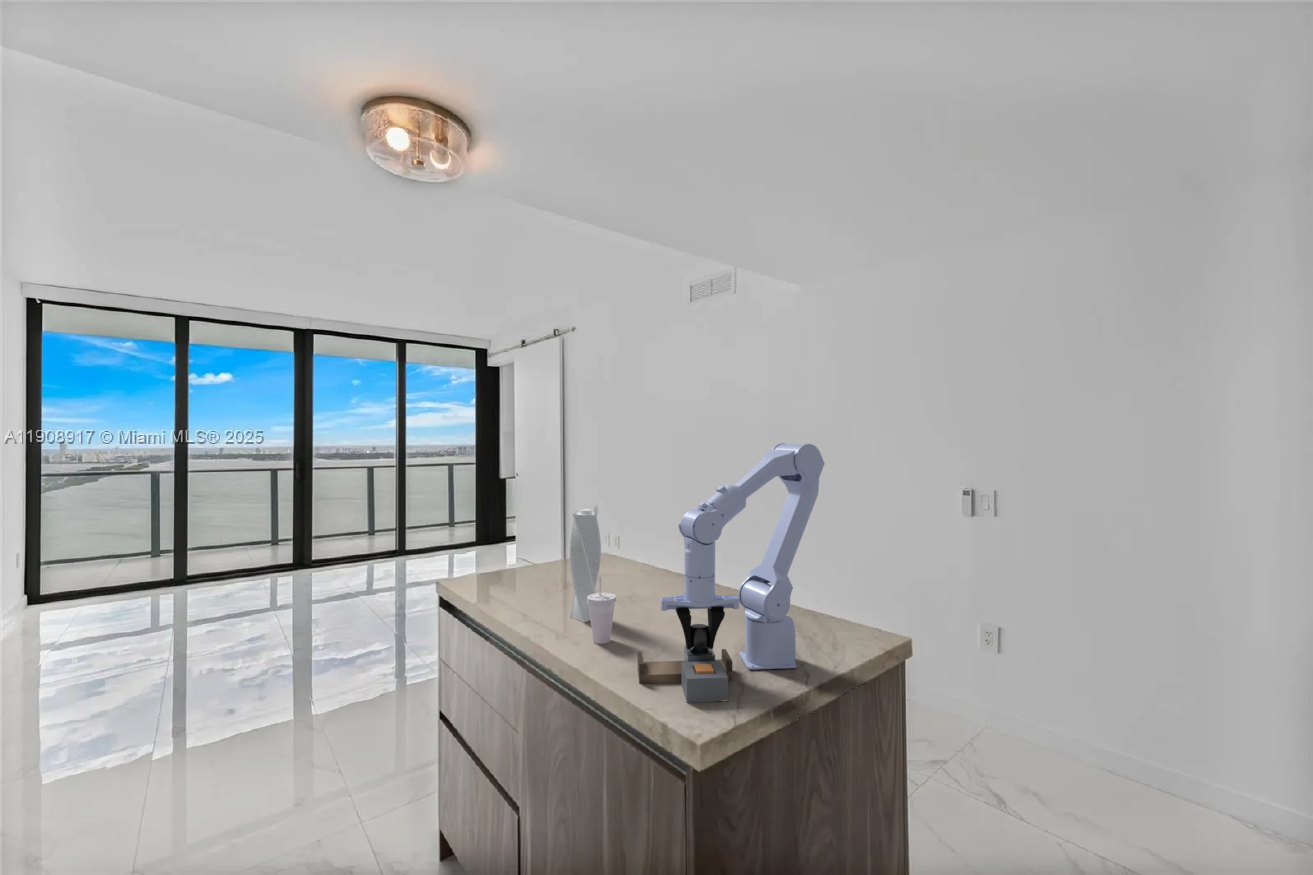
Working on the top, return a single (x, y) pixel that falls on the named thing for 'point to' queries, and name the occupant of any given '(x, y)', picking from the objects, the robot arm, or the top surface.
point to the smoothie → (601, 615)
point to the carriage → (699, 645)
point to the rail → (671, 669)
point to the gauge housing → (704, 683)
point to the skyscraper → (584, 560)
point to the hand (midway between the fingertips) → (699, 647)
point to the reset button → (703, 669)
